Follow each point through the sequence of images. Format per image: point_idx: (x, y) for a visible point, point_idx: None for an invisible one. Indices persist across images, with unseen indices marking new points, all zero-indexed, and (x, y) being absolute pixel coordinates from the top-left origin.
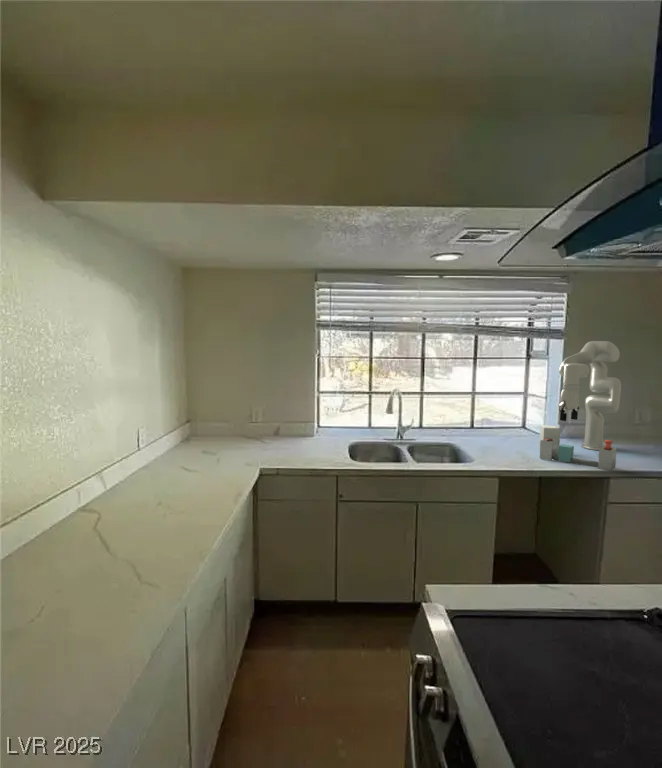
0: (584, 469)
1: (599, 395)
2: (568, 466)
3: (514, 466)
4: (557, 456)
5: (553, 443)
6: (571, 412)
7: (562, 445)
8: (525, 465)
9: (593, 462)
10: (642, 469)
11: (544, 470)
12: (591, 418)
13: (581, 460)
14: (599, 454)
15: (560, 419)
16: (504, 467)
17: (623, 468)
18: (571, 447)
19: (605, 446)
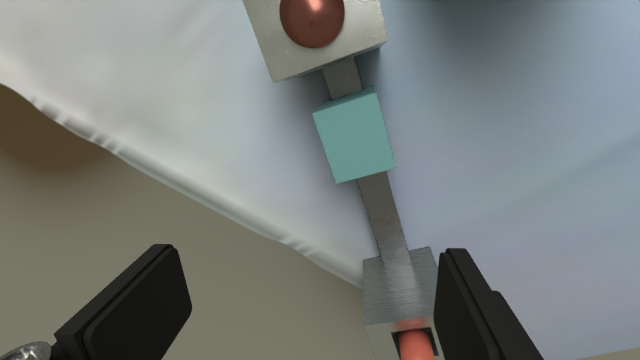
0: (302, 239)
1: None
2: (283, 184)
3: (60, 61)
4: (331, 92)
5: (308, 70)
6: (485, 344)
7: (343, 120)
8: (117, 76)
9: (379, 245)
10: None
11: (146, 168)
12: None
13: (365, 201)
14: (364, 305)
15: (152, 254)
16: (9, 50)
17: None
18: (347, 180)
19: (402, 349)
